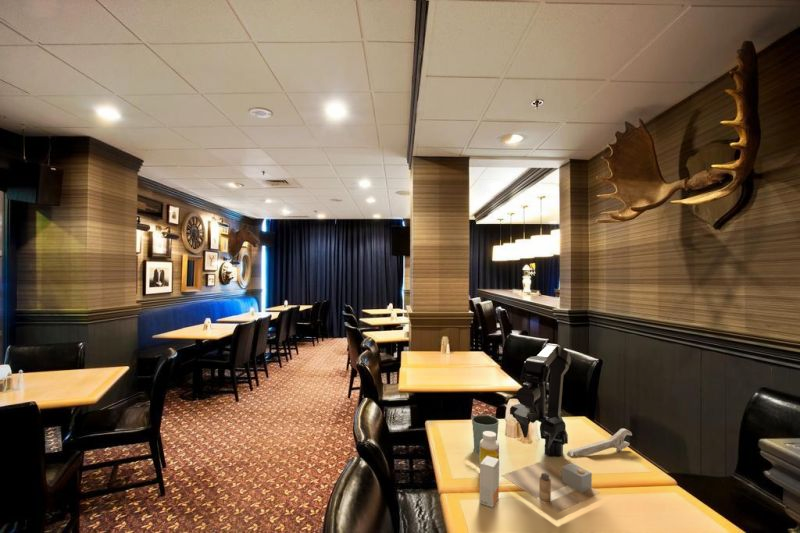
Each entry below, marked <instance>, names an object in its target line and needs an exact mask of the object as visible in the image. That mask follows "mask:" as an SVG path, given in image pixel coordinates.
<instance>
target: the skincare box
mask: <svg viewBox="0 0 800 533" xmlns="http://www.w3.org/2000/svg"><path fill="white" fill-rule="evenodd" d="M499 482H500V458H499V459H497V458H493V457H490V456H486V457H485V458H484V459H483V461H482V462H481V463H480V468H479V504H481V505H484V506H487V507H489V508H494V505H495V504H496V503H497V500H498V499H499V493H500V492H499V490H500V489H499V486H500V484H499Z"/></svg>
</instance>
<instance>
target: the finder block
mask: <svg viewBox="0 0 800 533" xmlns="http://www.w3.org/2000/svg"><path fill="white" fill-rule="evenodd" d="M561 472H562V482H563V483H565V484H566V485H568V486H570V487H572V488H573V489H575V490H577V491H579V492H580V493H583V492H585V491H588V490H590V489H592V488H593V487H592V480H593V478H592V476H593V474H592V472H590V471H589V470H587V469H585V468H583V467H581V466H579V465H577V464H575V463H572V462H571V463H569V464H566V465H563V466H561Z"/></svg>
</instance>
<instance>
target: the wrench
mask: <svg viewBox="0 0 800 533" xmlns="http://www.w3.org/2000/svg"><path fill="white" fill-rule="evenodd" d="M626 436H633V433H632V431H630V430H628V429H626V428H620V429H619V430H618V431H617V432H615V433H614V434H613V435H612V436H611V437H609V438H607V439H604V440H601V441H597V442H594V443H590V444H587V445H583V446H580V447H576V448H573V449H570V450H568V451H567V453H566V454H567V456H568V457H569V458H570V457H572V454H573V455H574V456H576V457H577V456H583V457H586V456H590V455H593V454H596V453H600V452H602V451H605V450H609V449H612V448H613V449H616V452H622V451H623V449H626V448H628V447H629V446H630V442H627V441H625V438H626Z"/></svg>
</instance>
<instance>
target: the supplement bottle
mask: <svg viewBox="0 0 800 533" xmlns="http://www.w3.org/2000/svg"><path fill="white" fill-rule="evenodd" d="M486 456H490V457H493V458H497V459H499V460H500V443H499V441H498V440H497V441H496V433H494V432H491V431H484V432H483V439H482V440H481V441H480V452H479V462H478V464H479V467H478V468H479V469H480V463H481V462H482V461H483V459H484V458H485V457H486Z"/></svg>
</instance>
